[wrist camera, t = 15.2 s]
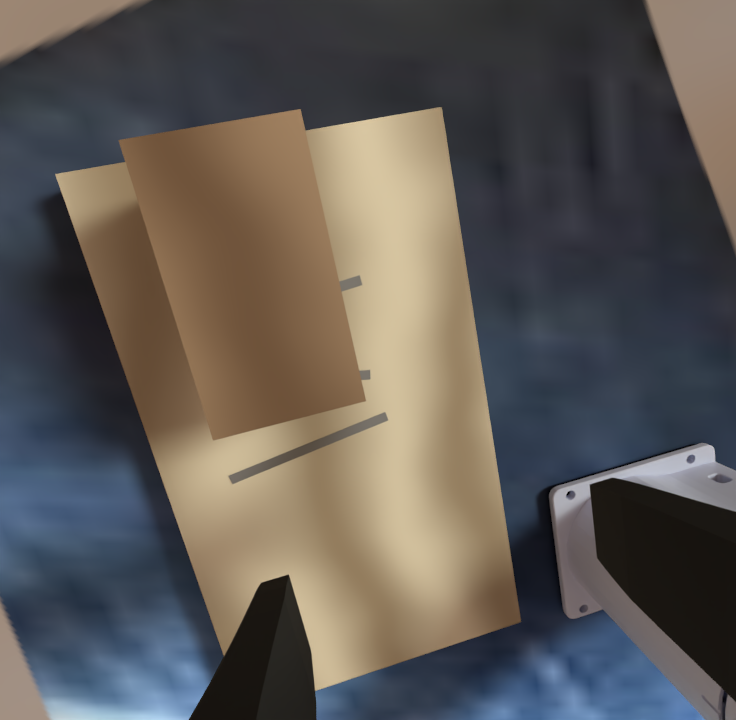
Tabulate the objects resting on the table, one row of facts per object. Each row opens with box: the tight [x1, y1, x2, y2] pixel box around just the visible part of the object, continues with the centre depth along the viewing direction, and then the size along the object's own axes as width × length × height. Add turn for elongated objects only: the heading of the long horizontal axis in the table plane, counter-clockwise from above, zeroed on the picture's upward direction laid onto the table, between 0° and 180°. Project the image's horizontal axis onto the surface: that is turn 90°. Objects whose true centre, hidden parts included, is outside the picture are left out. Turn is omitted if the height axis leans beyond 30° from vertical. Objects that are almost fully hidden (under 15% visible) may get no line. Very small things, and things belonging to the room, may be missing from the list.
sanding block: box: [119, 109, 366, 441], centre depth 14 cm, size 4×8×5 cm, turn 12°
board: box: [55, 107, 521, 691], centre depth 19 cm, size 14×24×2 cm, turn 12°
